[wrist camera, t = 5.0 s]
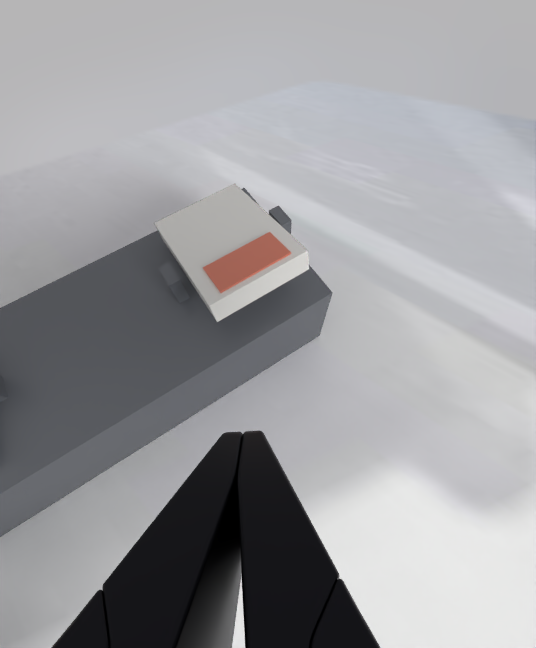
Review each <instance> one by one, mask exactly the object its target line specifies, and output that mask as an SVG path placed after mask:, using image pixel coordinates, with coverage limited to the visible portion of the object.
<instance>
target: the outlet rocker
mask: <svg viewBox="0 0 536 648" xmlns="http://www.w3.org/2000/svg"><path fill="white" fill-rule="evenodd" d="M154 224H155V226H156V228H157V230H158V231H159V233H160V235H161V237H162V239H163V241H164V242H165V244H166V245H167V247H168V248H169V250H170V251H171V253H172V254H173V256H174V257H175V259H176V260H177V262H178V263H179V265H180V266H181V268H182V269H183V271H184V273H185V274H186V276H187V277H188V279H189V280H190V282H191V283H192V285H193V286H194V288H195V289H196V291H197V292H198V294H199V295H200V297H201V298H202V300H203V301H204V303H205V304H206V306H207V307H208V309H209V310H210V312H211V314H212V315H213V317H214V318H215V320H216V321H217V322H218V321H220V320H222V319H224V318H225V317H227V316H229V315H231V314H232V313H234V312H236V311H237V310H239V309H241V308H243V307H244V306H246V305H248V304H250V303H251V302H253V301H255V300H257V299H258V298H260V297H262V296H263V295H265V294H267V293H269V292H270V291H272V290H274V289H276V288H277V287H279V286H281V285H282V284H284V283H286V282H288V281H289V280H291V279H293V278H295V277H296V276H298V275H300V274H302V273H303V272H305V271H307V270H308V269H309V258H308V250H307V249H306V248H305V247H304V246H303V245H302V244H301V243H300V242H298V241H297V240H296V239H295V238H294V237H293V236H292V235H291V234H290V233H289V232H287V231H286V230H285V229H284V228H283V227H282V226H281V225H280V224H279V223H278V222H276V221H275V220H274V219H273V218H272V217H271V216H270V215H269V214H268V213H267V212H266V211H264V210H263V209H262V208H261V207H260V206H259V205H258V204H257V203H256V202H255V201H253V200H252V199H251V198H250V197H249V196H248V195H247V194H246V193H245V192H244V191H243V190H241V189H240V188H239V187H238V186H237V185H236V184H233V185H231V186H229V187H227V188H225V189H223V190H221V191H219V192H216V193H214V194H212V195H210V196H208V197H206V198H204V199H202V200H200V201H198V202H196V203H194V204H192V205H190V206H188V207H186V208H184V209H182V210H180V211H177V212H175V213H173V214H171V215H169V216H167V217H165V218H163V219H161V220H159V221H157V222H155V223H154Z"/></svg>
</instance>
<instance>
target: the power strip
mask: <svg viewBox="0 0 536 648" xmlns="http://www.w3.org/2000/svg"><path fill="white" fill-rule="evenodd" d="M241 190H243V191H244V192H245V193H246V194H247V195H248V196H249V197H250V198H251V199H252V200H253V201H255V200H254V199H253V198H252V196H251V195H250V194H249V193H248V192H247V190H246V189H245V188H243V189H241ZM255 202H256V201H255ZM256 203H257V202H256ZM269 215H270V216H271V217H272V218H273V219H274V220H275V221H276V222H278V223H279V224H280V225H281V226H282V227H283V228H284V229H285V230H286V231H287V232H289V233H290V234H291V219H290V218H289V217H288V216H287V215H286V214H285V212H284V211H283V210H282V209H281V208H280V207H279V206H277V207H275V208H273V209H271V210H269ZM331 296H332V292H331V290H330V289H329V288H328V287H327V286H326V284H325V283H324V282H323V281H322V280H321V278H320V277H319V276H318V275H317V274H316V272H315V271H314V270H313V269H312V268H311V267H310V265H309V269H308V270H307V271H305V272H303V273H302V274H300V275H298V276H296V277H295V278H293V279H291V280H289V281H288V282H286V283H284V284H282V285H281V286H279V287H277V288H276V289H274V290H272V291H270V292H269V293H267V294H265V295H263V296H262V297H260V298H258V299H257V300H255V301H253V302H251V303H250V304H248V305H246V306H244V307H243V308H241V309H239V310H237V311H236V312H234V313H232V314H231V315H229V316H227V317H225V318H224V319H222V320H220V321H218V322H217V321H216V320H215V318H214V317H213V315H212V314H211V312H210V310H209V309H208V307H207V306H206V304H205V303H204V301H203V300H202V298H201V297H200V295H199V294H198V292H197V291H196V289H195V288H194V286H193V285H192V283H191V282H190V280H189V279H188V277H187V276H186V274H185V273H184V271H183V269H182V268H181V266H180V265H179V263H178V262H177V260H176V259H175V257H174V256H173V254H172V253H171V251H170V250H169V248H168V247H167V245H166V244H165V242H164V241H163V239H162V237H161V235H160V233H159V231H156V232H154V233H152V234H150V235H148V236H146V237H144V238H141V239H139V240H137V241H135V242H133V243H131V244H129V245H127V246H125V247H123V248H121V249H119V250H117V251H115V252H113V253H111V254H109V255H107V256H105V257H103V258H101V259H99V260H97V261H95V262H93V263H91V264H89V265H87V266H85V267H83V268H81V269H79V270H77V271H75V272H73V273H71V274H69V275H67V276H64V277H62V278H60V279H58V280H56V281H54V282H52V283H50V284H48V285H46V286H44V287H42V288H40V289H38V290H36V291H34V292H32V293H30V294H28V295H26V296H24V297H22V298H20V299H18V300H16V301H14V302H12V303H10V304H8V305H6V306H4V307H2V308H0V537H1V536H2V535H4V534H6V533H7V532H9V531H10V530H12V529H13V528H15V527H17V526H18V525H20V524H21V523H23V522H25V521H26V520H28V519H29V518H31V517H32V516H34V515H36V514H37V513H39V512H40V511H42V510H44V509H45V508H47V507H48V506H50V505H51V504H53V503H55V502H56V501H58V500H59V499H61V498H63V497H64V496H66V495H67V494H69V493H71V492H72V491H74V490H75V489H77V488H78V487H80V486H82V485H83V484H85V483H86V482H88V481H90V480H91V479H93V478H94V477H96V476H97V475H99V474H101V473H102V472H104V471H105V470H107V469H109V468H110V467H112V466H113V465H115V464H116V463H118V462H120V461H121V460H123V459H124V458H126V457H128V456H129V455H131V454H132V453H134V452H135V451H137V450H139V449H140V448H142V447H143V446H145V445H147V444H148V443H150V442H151V441H153V440H154V439H156V438H158V437H159V436H161V435H162V434H164V433H166V432H167V431H169V430H170V429H172V428H174V427H175V426H177V425H178V424H180V423H181V422H183V421H185V420H186V419H188V418H189V417H191V416H193V415H194V414H196V413H197V412H199V411H200V410H202V409H204V408H205V407H207V406H208V405H210V404H212V403H213V402H215V401H216V400H218V399H219V398H221V397H223V396H224V395H226V394H227V393H229V392H231V391H232V390H234V389H235V388H237V387H238V386H240V385H242V384H243V383H245V382H246V381H248V380H250V379H251V378H253V377H254V376H256V375H257V374H259V373H261V372H262V371H264V370H265V369H267V368H269V367H270V366H272V365H273V364H275V363H277V362H278V361H280V360H281V359H283V358H284V357H286V356H288V355H289V354H291V353H292V352H294V351H296V350H297V349H299V348H300V347H302V346H303V345H305V344H307V343H308V342H310V341H311V340H313V339H315V338H316V337H318V336H319V335H320V332H321V329H322V325H323V322H324V319H325V316H326V312H327V309H328V306H329V302H330V299H331Z"/></svg>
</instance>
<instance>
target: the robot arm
mask: <svg viewBox="0 0 536 648" xmlns="http://www.w3.org/2000/svg"><path fill="white" fill-rule="evenodd" d="M241 572H242V590H243V609H244V628H245V647H246V648H380V646H379V644H378V643H377V641H376V639H375V637H374V636H373V634H372V632H371V630H370V629H369V627H368V625H367V623H366V622H365V620H364V618H363V616H362V615H361V613H360V611H359V609H358V608H357V606H356V604H355V602H354V600H353V598H352V597H351V595H350V593H349V591H348V589H347V587H346V585H345V584H344V582H343V580H342V579H339V573H338V571H337V569H336V567H335V565H334V564H333V562H332V560H331V558H330V556H329V554H328V552H327V551H326V549H325V547H324V545H323V543H322V541H321V539H320V538H319V536H318V534H317V532H316V530H315V528H314V526H313V525H312V523H311V521H310V519H309V517H308V515H307V513H306V511H305V510H304V508H303V506H302V504H301V502H300V500H299V498H298V497H297V495H296V493H295V491H294V489H293V487H292V485H291V484H290V482H289V480H288V478H287V476H286V474H285V472H284V471H283V469H282V467H281V465H280V463H279V461H278V459H277V458H276V456H275V454H274V452H273V450H272V448H271V446H270V444H269V443H268V441H267V439H266V437H265V435H264V433H263V432H262V431H246V432H244V434H242V433H241V432H226V433H224V434H222V436H221V437H220V438H219V439H218V441H217V442H216V443H215V444H214V446H213V447H212V448H211V449H210V451H209V452H208V453H207V454H206V456H205V457H204V458H203V459H202V461H201V462H200V463H199V464H198V466H197V467H196V468H195V469H194V471H193V472H192V473H191V474H190V476H189V477H188V478H187V480H186V481H185V482H184V483H183V485H182V486H181V487H180V488H179V490H178V491H177V492H176V493H175V495H174V496H173V497H172V498H171V500H170V501H169V502H168V503H167V505H166V506H165V507H164V508H163V510H162V511H161V512H160V513H159V515H158V516H157V517H156V519H155V520H154V521H153V522H152V524H151V525H150V526H149V527H148V529H147V530H146V531H145V532H144V534H143V535H142V536H141V537H140V539H139V540H138V541H137V542H136V544H135V545H134V546H133V547H132V549H131V550H130V551H129V552H128V554H127V555H126V556H125V558H124V559H123V560H122V561H121V563H120V564H119V565H118V566H117V568H116V569H115V570H114V571H113V573H112V574H111V575H110V576H109V578H108V579H107V580H106V581H105V583H104V584H103V591H102V590H98V591H97V592H96V594H95V595H94V596H93V597H92V599H91V600H90V601H89V602H88V604H87V605H86V606H85V607H84V609H83V610H82V611H81V612H80V614H79V615H78V616H77V618H76V619H75V620H74V621H73V622H72V624H71V625H70V626H69V627H68V628H67V630H66V631H65V632H64V633H63V634H62V636H61V637H60V638H59V639H58V641H57V642H56V643H55V644H54V645H53V647H52V648H232V642H233V634H234V626H235V618H236V611H237V603H238V595H239V588H240V580H241Z"/></svg>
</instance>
